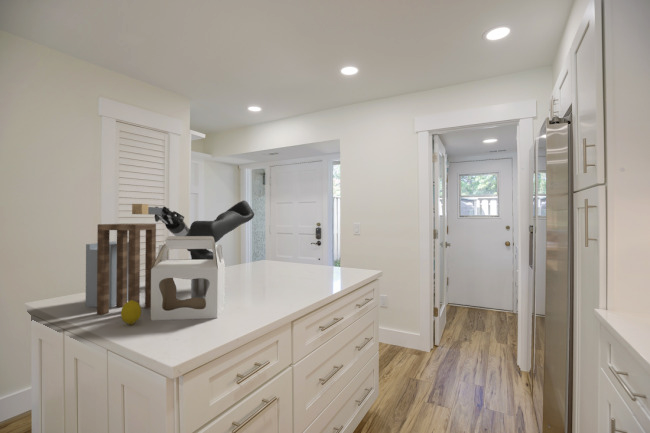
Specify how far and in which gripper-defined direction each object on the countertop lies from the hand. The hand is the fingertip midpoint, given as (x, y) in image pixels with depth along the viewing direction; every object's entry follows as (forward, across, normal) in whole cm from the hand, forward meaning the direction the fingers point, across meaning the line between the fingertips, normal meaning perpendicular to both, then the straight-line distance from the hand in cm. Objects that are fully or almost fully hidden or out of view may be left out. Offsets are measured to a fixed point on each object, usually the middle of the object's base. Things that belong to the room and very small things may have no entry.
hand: (159, 208), depth 137 cm
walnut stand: (-2, 0, -44) cm, 44 cm away
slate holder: (-10, +14, -38) cm, 42 cm away
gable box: (0, -25, -45) cm, 52 cm away
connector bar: (+3, 0, -5) cm, 6 cm away
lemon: (+11, -12, -51) cm, 54 cm away
